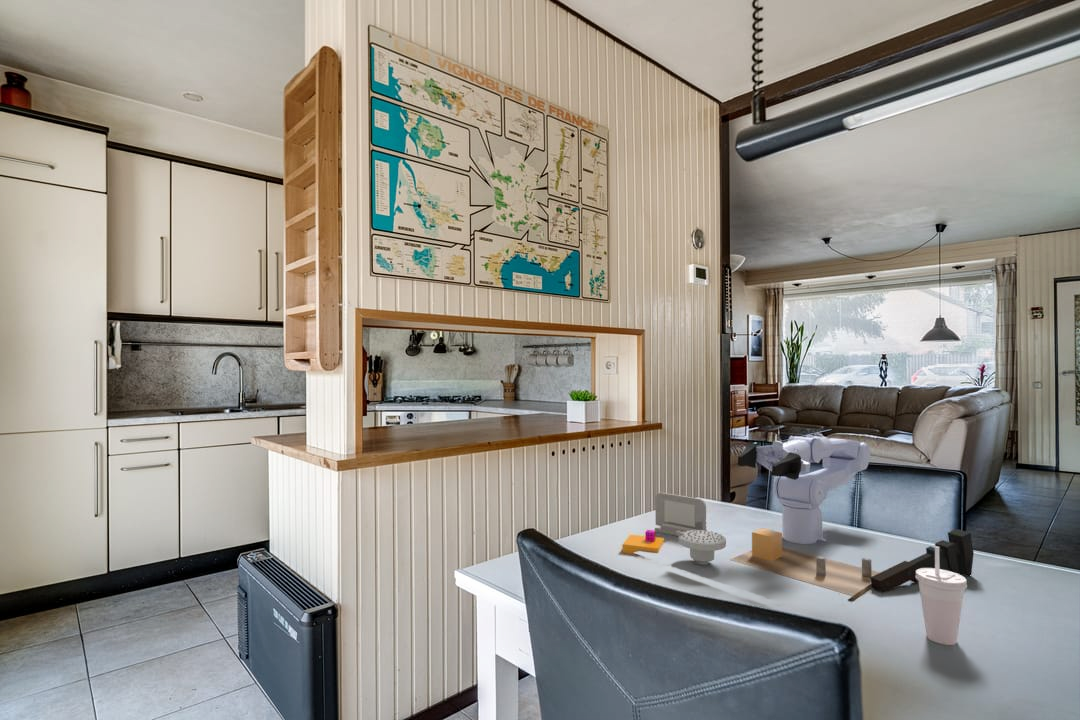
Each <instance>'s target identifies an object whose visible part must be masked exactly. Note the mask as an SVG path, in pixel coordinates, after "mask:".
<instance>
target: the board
mask: <svg viewBox="0 0 1080 720" xmlns="http://www.w3.org/2000/svg"><path fill="white" fill-rule="evenodd" d="M729 561H732V562H736V563H740V564H742V565H745V566H746V565H747V566H749V567H753V568H757V569H759V570H763V571H765V572H770V573H773V574H776V575H779V576H783V577H786V578H790V579H793V580H797V581H800V582H804V583H807V584H811V585H813V586H817V587H820V588H824V589H828V590H830V591H833V592H838V593H841V594H844V595H848V596H851V597H849V598H848V599H847V601H849V602H855V601H856V600H857V599H859V598H861V597H862V596H863V595H865V594H866V593H868V592H869V591H871V590H873V589H872V583H871V577H872V576H874V575H876V574H878V573H881V572H882V571H881V572H880V571H876V570H873V569H872V559H871V558H868V557H862V558H861V567H860V566H856V565H853V564H848V563H846V562H842V561H838V560H833V559H829V558H826V557H824V556H819V555H813V554H809V553H807V552H801V551H799V550H794V549H790V548H786V547H783V546H782V557H780V558H778V559H776V560H773V561H769V560H766V559H762V558H759V557H755V556H752V549H751V550H749V551H747V552H744V553H742V554H740V555H737V556H735V557H733V558H730V559H729Z"/></svg>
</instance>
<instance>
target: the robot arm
mask: <svg viewBox="0 0 1080 720" xmlns="http://www.w3.org/2000/svg"><path fill="white" fill-rule="evenodd" d="M757 445H758V444H757V443H755V442H751V441H749V442H746V444H745V446H744V447H742V452H741V454H740V455H739V456H738V457H737V466H740V467H749V468H752V469H756V468H757V467H756V466H757V463H759V464H760V465H761V466H763V467H764V468H765V469H767V470H769V471H770V472H771V476H774V477H775V479H774V481H773V482H774V483H773V493H774V495H775V497H776V498H777V500H779V504H782V509H781V510H782V519H781V520H782V521H781V522H782V540H783V539H784V540H785V541H787V542H790V543H795V544H802V545H811V544H816V543H817V541H818V540H819V541H822V542H823V541H824V542H827V539H825V538H823V513H822V510H821V509H820V506H821V505H822V504H823V502H824V501H825V500H827V497H828V492H829V491H833V490H834V489H837V488H841V487H842V486H845V485H846V484H847V485H848V483H849V482H850V481H851V480H852V479H853V478H854V477H855V475H856V474H857V473H858V472H862V471H864V470H867V468H868V466H869V463H870V459H871V449H870V446H869V445H868V444H867V442H864V441H863V442H861V441H857V440H851V439H843V438H835V437H834V438H833V437H832V438H829V437H827V436H824V435H823V434H822V433H814V434H806V435H805V436H797V435H795V436H793V435H790V436H789V437H788V440H787V441H785V442H782V441H779V440H774V441H772V444H771V445H762V446H761V445H760V446H757ZM821 461H822V468H821V469H818V470H814V471H812V472H810V469H811V463H816V464H819V463H820V462H821ZM800 473H801V474H800Z"/></svg>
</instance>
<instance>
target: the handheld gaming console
mask: <svg viewBox="0 0 1080 720" xmlns="http://www.w3.org/2000/svg"><path fill="white" fill-rule="evenodd" d="M654 504H655V509H654V510H655V525H656V526H658V527H654V530H655V531H656V533H659V532H661V533H660V534H664V533H665V535H668V534H670V535H669V536H673V535H674V537H677V536H678V538H679V535H678V534H676V531H680V532H684V531H689V530H694V529H695V530H703V531H705V530H707V504H706V502H705V501H704V499H701V498H698V497H692V496H686V495H679V494H673V493H667V492H659V493H657V494H656V495H655V503H654Z"/></svg>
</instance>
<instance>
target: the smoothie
mask: <svg viewBox="0 0 1080 720" xmlns="http://www.w3.org/2000/svg"><path fill="white" fill-rule="evenodd" d="M934 548H935V568H921V569H918V570H916V579H917V580H918V581H919V582H918V587H919V588H918V589H919V594H920V595H919V596H920V600H921V602H920V603H921V606H922V607H921V608H922V612H923V613H922V615H923V621H924V622H923V623H924V628H925V633H926V637H927V639H929V640H930V641H933V642H934V643H937V644H941V645H945V646H954V645H956V644H957V642H958V634H959V629H960V620H961V614H962V607H963V606H962V605H963V600H964V594H965V593H964V592H965V589H967V588H968V584H967V583H968V581H967V579H966V577H965V576H964V575H962V574H957V573H954V572H951V571H947V570H942V569H939V547H938V546H934Z"/></svg>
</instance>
